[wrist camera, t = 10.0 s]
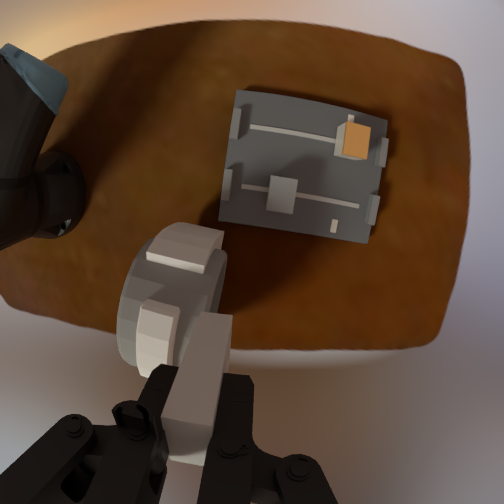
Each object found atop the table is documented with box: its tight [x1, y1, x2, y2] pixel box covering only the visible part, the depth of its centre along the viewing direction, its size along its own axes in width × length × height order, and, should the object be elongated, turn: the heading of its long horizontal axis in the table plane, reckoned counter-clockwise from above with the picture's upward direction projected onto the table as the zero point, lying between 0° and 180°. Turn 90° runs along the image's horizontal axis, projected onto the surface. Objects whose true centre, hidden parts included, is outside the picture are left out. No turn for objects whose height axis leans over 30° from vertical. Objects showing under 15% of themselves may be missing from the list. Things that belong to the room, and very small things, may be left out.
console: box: [218, 90, 389, 244], centre depth 35 cm, size 21×18×4 cm
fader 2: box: [334, 121, 371, 160], centre depth 31 cm, size 3×4×4 cm
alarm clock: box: [117, 222, 227, 378], centre depth 32 cm, size 18×8×20 cm, turn 167°
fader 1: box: [266, 175, 298, 214], centre depth 33 cm, size 3×4×4 cm
